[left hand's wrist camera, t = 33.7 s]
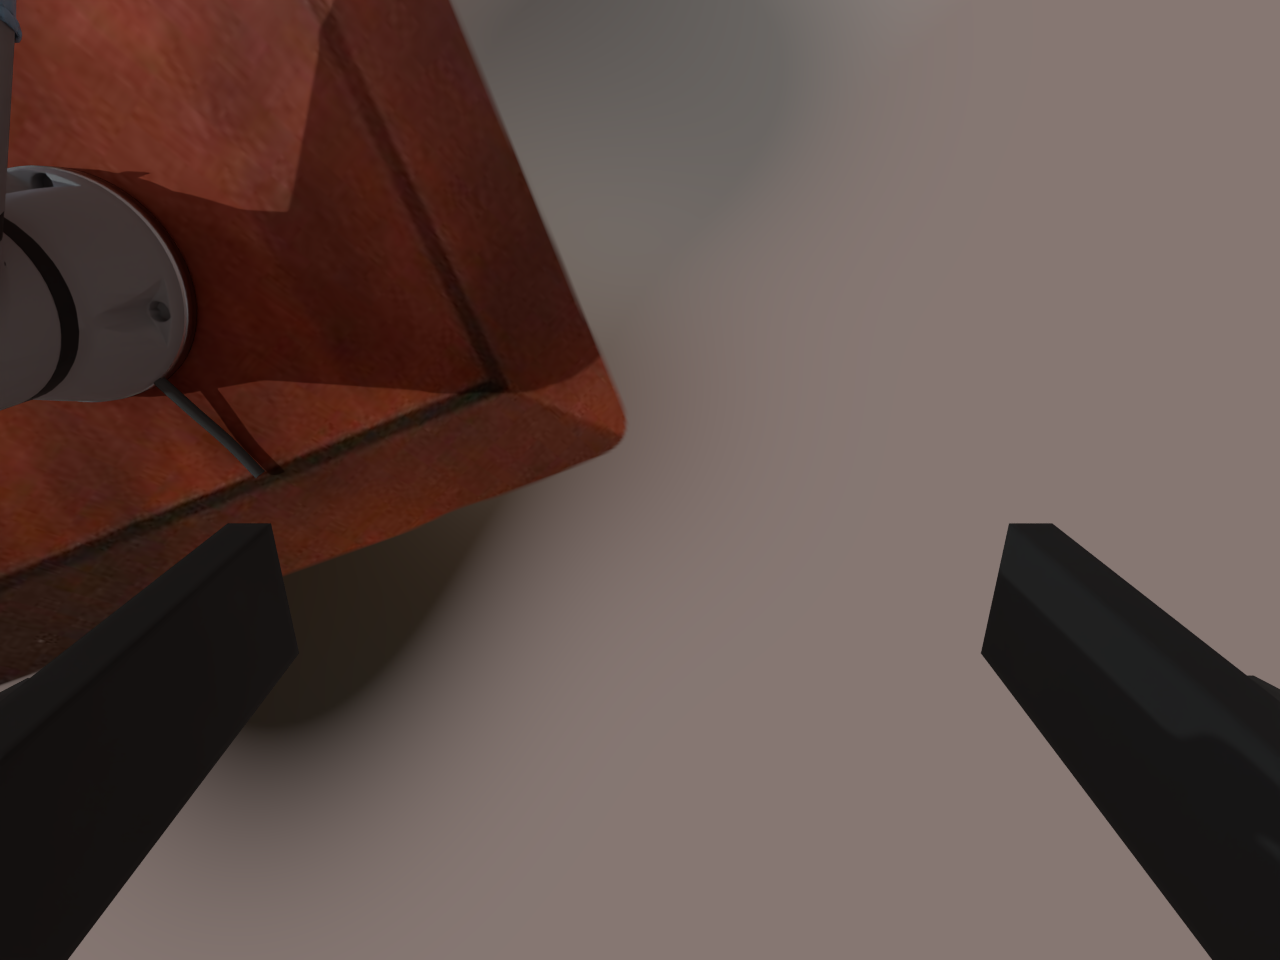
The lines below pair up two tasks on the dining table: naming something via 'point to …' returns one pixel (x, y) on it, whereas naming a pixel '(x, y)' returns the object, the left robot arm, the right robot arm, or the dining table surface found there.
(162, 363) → the left robot arm
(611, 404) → the dining table surface
